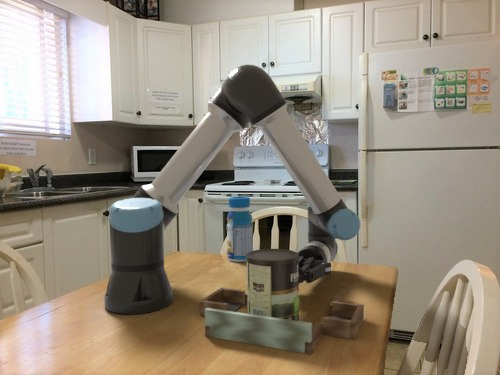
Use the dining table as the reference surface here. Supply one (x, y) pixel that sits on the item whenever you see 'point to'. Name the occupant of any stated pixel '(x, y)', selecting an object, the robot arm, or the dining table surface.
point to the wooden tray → (275, 323)
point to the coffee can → (273, 283)
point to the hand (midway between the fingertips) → (284, 285)
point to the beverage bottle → (239, 229)
